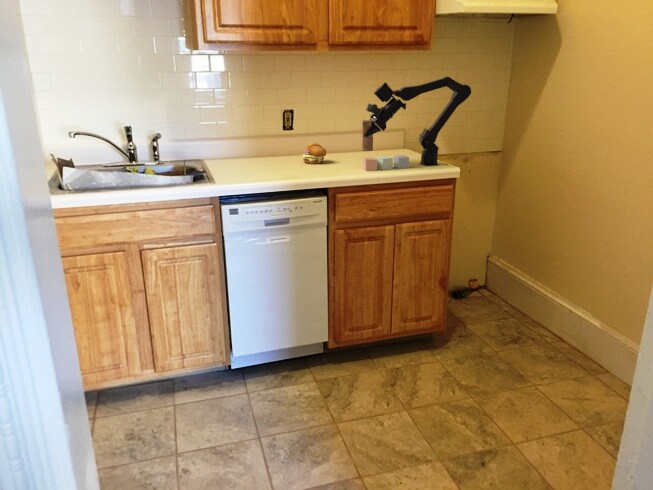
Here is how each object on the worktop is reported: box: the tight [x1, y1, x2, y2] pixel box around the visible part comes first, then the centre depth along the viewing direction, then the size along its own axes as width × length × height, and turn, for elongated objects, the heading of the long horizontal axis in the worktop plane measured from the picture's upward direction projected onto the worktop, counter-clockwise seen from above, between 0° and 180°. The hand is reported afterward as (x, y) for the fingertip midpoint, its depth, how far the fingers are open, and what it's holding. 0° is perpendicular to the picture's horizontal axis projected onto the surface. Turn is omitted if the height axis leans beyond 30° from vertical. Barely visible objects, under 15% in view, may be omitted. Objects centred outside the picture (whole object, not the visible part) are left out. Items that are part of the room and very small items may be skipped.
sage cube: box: [376, 155, 394, 171], centre depth 242 cm, size 5×5×5 cm
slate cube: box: [393, 154, 410, 170], centre depth 244 cm, size 5×5×5 cm
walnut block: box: [361, 119, 374, 152], centre depth 246 cm, size 4×4×13 cm
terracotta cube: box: [362, 156, 378, 172], centre depth 240 cm, size 5×5×5 cm
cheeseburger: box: [302, 142, 327, 165], centre depth 257 cm, size 10×11×10 cm
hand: (364, 135), depth 246 cm, fingers closed on walnut block, 4 cm apart
